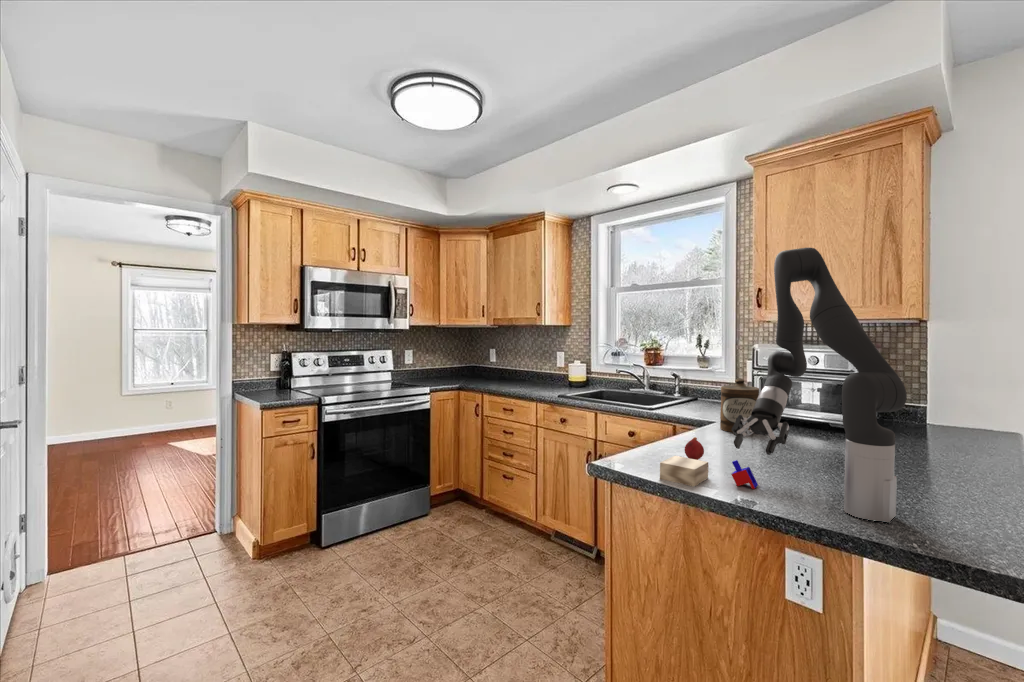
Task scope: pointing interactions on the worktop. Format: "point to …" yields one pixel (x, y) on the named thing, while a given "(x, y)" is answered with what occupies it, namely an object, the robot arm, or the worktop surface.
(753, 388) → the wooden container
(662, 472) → the maple block
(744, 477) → the toy building block
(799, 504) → the worktop surface
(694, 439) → the onion
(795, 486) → the worktop surface
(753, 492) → the worktop surface
